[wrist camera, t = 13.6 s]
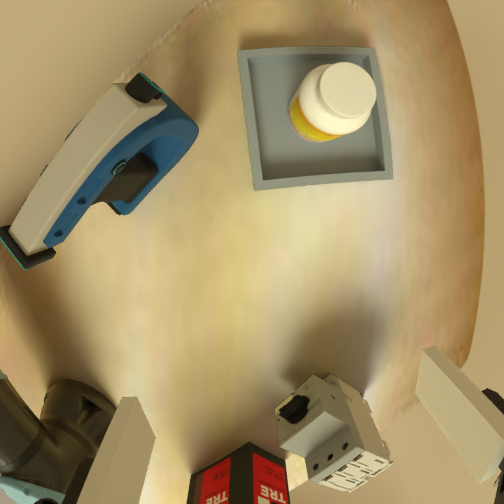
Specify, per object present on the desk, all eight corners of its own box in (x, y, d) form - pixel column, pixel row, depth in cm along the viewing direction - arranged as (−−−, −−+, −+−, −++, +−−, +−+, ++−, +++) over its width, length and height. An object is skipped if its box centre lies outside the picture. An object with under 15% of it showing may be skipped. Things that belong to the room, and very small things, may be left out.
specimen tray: (253, 189, 37) (254, 190, 34) (237, 59, 33) (237, 50, 30) (383, 178, 36) (393, 179, 33) (366, 55, 32) (374, 48, 29)
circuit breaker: (299, 352, 42) (319, 429, 28) (363, 394, 44) (394, 463, 30) (264, 386, 43) (269, 464, 29) (330, 423, 46) (350, 493, 31)
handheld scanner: (94, 203, 37) (-9, 238, 18) (182, 107, 34) (123, 54, 15) (118, 228, 38) (26, 282, 19) (208, 133, 35) (171, 99, 16)
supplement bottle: (330, 152, 35) (371, 145, 22) (277, 128, 34) (293, 107, 22) (351, 103, 33) (397, 76, 21) (299, 79, 33) (324, 37, 20)
